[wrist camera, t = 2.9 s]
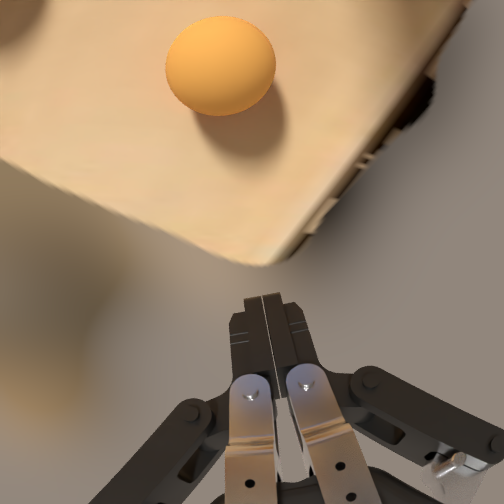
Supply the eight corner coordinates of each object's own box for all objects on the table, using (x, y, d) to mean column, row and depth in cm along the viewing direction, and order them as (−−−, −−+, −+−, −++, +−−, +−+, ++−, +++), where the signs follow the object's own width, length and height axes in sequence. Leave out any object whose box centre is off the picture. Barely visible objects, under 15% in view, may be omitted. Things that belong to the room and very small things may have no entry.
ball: (166, 36, 13) (145, 22, 9) (259, 19, 13) (276, -1, 9) (183, 117, 17) (170, 136, 12) (272, 101, 17) (294, 113, 12)
